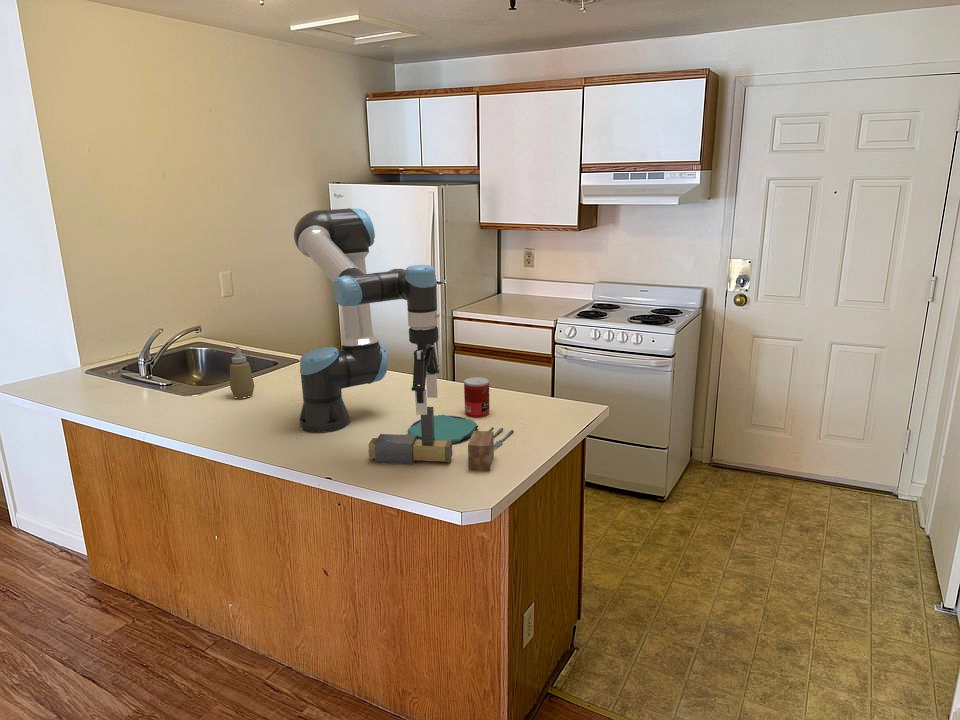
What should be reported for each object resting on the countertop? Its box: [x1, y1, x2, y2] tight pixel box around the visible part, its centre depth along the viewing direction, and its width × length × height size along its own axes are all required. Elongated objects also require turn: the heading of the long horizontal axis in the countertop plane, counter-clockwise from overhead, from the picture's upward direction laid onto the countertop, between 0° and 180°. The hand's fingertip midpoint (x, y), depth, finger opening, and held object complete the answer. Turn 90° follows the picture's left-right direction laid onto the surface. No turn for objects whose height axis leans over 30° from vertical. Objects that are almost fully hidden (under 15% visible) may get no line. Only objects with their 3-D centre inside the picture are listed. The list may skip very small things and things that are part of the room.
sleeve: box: [374, 433, 417, 466], centre depth 185 cm, size 10×6×6 cm, turn 82°
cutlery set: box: [407, 414, 514, 452], centre depth 202 cm, size 20×30×2 cm, turn 64°
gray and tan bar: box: [367, 406, 453, 463], centre depth 183 cm, size 22×4×14 cm, turn 82°
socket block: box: [467, 430, 495, 472], centre depth 182 cm, size 6×10×7 cm, turn 172°
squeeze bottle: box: [229, 346, 255, 399], centre depth 237 cm, size 8×8×18 cm
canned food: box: [463, 377, 490, 418], centre depth 217 cm, size 8×8×11 cm
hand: (427, 405), depth 180 cm, fingers open, 13 cm apart
